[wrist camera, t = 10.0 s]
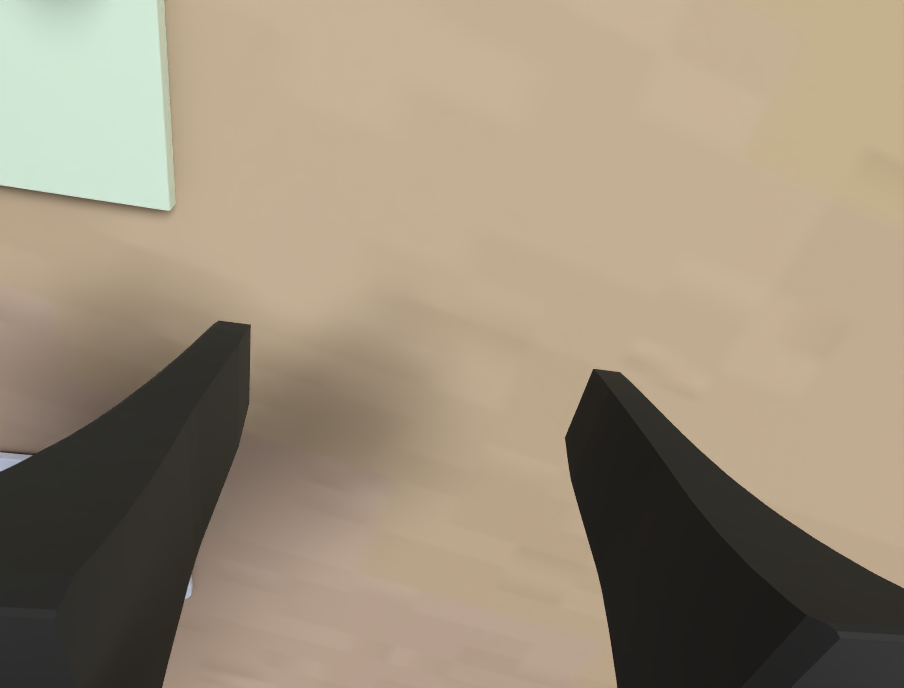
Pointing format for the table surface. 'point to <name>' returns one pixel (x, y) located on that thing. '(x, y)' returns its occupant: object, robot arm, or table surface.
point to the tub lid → (86, 100)
